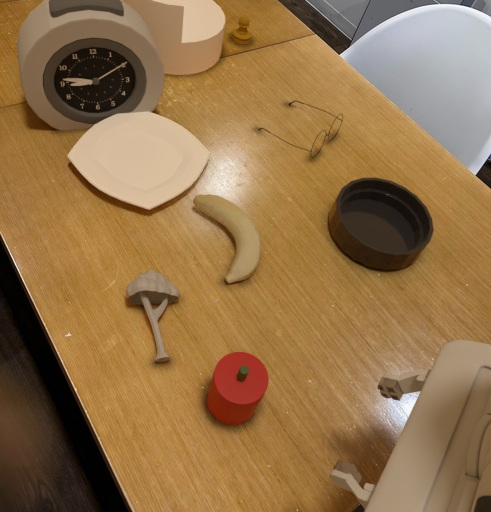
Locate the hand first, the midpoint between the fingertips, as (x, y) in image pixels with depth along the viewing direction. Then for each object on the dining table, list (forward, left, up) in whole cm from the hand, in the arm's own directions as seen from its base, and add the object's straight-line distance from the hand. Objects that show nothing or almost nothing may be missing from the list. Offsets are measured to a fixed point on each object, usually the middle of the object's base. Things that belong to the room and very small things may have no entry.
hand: (360, 425), depth 44 cm
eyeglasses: (+39, -43, -16) cm, 60 cm away
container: (+72, -41, -16) cm, 84 cm away
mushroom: (+26, +1, -16) cm, 30 cm away
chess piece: (+66, -55, -16) cm, 87 cm away
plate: (+49, -15, -15) cm, 53 cm away
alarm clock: (+63, -16, -16) cm, 67 cm away
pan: (+16, -35, -16) cm, 41 cm away
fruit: (+30, -15, -16) cm, 37 cm away
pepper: (+12, +1, -16) cm, 19 cm away
